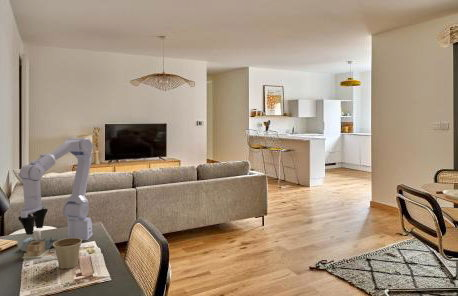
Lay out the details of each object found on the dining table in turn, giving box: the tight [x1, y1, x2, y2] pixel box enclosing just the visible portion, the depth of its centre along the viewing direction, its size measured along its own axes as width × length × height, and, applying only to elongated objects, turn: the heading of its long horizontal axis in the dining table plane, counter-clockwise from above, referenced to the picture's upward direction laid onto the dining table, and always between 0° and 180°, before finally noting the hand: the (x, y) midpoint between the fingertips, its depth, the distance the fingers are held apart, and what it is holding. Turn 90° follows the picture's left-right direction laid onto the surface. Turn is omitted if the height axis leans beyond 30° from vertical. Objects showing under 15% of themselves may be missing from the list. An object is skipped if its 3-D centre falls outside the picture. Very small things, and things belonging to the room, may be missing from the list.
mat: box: [21, 249, 50, 259], centre depth 135 cm, size 7×7×1 cm
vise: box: [20, 229, 59, 252], centre depth 143 cm, size 13×7×7 cm, turn 93°
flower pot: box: [52, 237, 83, 270], centre depth 124 cm, size 9×9×9 cm
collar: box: [25, 241, 46, 256], centre depth 135 cm, size 5×5×4 cm
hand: (34, 231), depth 135 cm, fingers open, 7 cm apart
